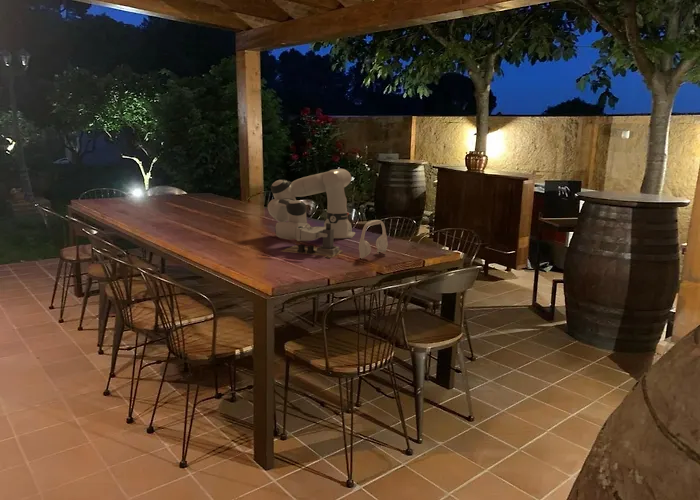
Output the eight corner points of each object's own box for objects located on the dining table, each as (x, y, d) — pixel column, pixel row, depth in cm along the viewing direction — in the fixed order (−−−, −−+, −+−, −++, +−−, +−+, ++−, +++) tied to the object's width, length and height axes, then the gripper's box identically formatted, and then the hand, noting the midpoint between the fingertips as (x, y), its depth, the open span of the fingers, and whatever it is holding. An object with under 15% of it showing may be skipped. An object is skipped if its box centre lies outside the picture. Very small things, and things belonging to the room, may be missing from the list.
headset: (366, 260, 265) (368, 223, 262) (354, 258, 269) (355, 221, 266) (389, 253, 281) (391, 219, 277) (378, 251, 285) (379, 217, 281)
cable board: (294, 247, 291) (294, 238, 290) (342, 252, 282) (342, 243, 281) (280, 252, 277) (280, 243, 276) (330, 258, 267) (330, 249, 266)
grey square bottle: (325, 248, 278) (326, 222, 275) (333, 248, 277) (333, 223, 274) (322, 249, 274) (323, 223, 272) (330, 250, 273) (330, 224, 270)
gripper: (313, 235, 289) (337, 237, 284) (295, 241, 270) (321, 244, 265) (313, 223, 287) (338, 225, 282) (295, 228, 269) (321, 231, 264)
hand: (329, 234), depth 274 cm, fingers closed on grey square bottle, 4 cm apart
